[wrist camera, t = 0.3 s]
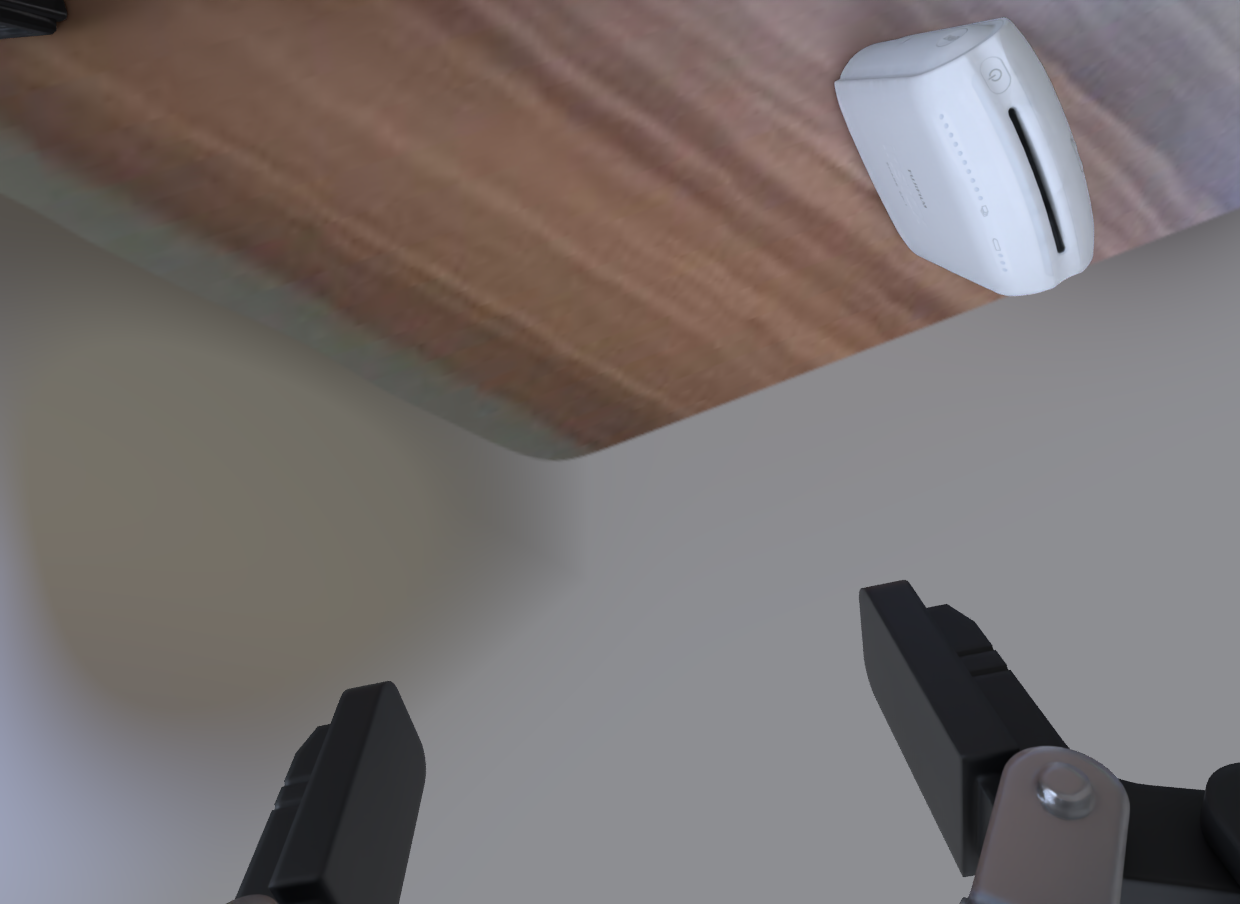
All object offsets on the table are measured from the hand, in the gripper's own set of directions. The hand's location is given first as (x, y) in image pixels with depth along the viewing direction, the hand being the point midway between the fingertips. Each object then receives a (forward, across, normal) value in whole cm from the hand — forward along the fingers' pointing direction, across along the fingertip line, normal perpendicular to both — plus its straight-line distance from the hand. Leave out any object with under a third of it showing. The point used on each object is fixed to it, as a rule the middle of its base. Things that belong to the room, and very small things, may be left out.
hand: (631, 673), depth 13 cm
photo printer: (+29, -16, -3) cm, 33 cm away
